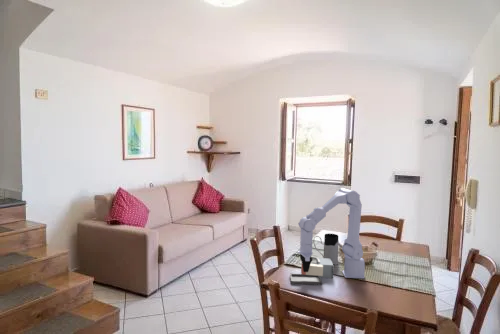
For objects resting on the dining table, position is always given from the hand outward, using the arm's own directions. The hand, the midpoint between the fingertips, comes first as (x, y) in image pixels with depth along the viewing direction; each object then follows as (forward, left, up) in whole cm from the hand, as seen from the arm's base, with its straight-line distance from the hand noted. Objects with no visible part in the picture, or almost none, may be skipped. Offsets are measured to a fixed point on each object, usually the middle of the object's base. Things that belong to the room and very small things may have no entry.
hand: (305, 270), depth 154 cm
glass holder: (-14, -27, -5) cm, 31 cm away
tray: (0, 0, -5) cm, 5 cm away
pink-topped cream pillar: (-3, 0, -2) cm, 3 cm away
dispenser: (-11, -9, -5) cm, 15 cm away
